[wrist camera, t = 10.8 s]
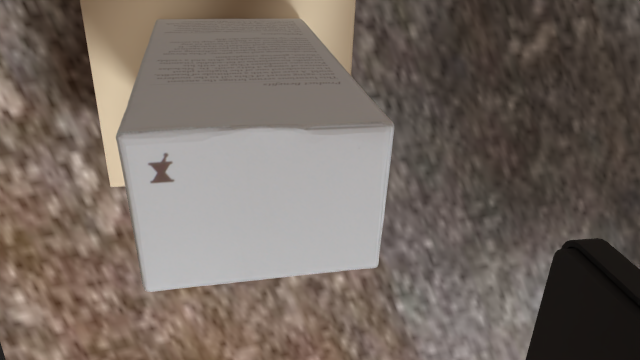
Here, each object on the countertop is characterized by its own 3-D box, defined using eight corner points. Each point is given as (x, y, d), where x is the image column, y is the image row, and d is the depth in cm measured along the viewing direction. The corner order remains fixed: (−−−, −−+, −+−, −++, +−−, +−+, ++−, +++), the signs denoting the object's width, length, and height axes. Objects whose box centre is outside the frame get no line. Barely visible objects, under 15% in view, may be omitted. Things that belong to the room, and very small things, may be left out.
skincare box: (165, 118, 23) (134, 298, 12) (155, 16, 21) (106, 128, 11) (305, 113, 24) (383, 273, 14) (306, 16, 22) (399, 116, 12)
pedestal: (337, -76, 24) (359, -72, 21) (327, 141, 29) (344, 173, 26) (87, -84, 22) (66, -82, 19) (122, 151, 27) (110, 187, 24)
